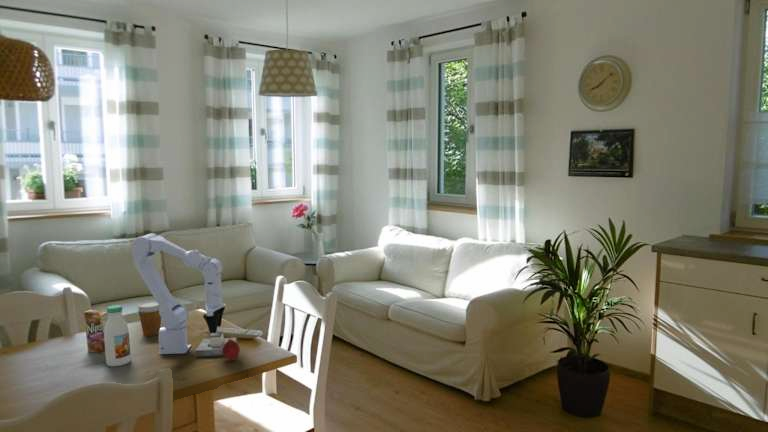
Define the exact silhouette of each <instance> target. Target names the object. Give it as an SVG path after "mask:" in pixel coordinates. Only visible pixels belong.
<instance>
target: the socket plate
mask: <svg viewBox="0 0 768 432" xmlns="http://www.w3.org/2000/svg"><path fill="white" fill-rule="evenodd" d="M229 338H231V339H232V340H233V341H235V342H236V343H237V337H223V339H224V344H223V345H222V346H213V347H210V338H202V341H201V342H200V343H199V344H198V346H197V347H196V349H195V350H194V351H195V352H194V353H195V354H194V355H195V358H207V357H208V358H212V357H213V358H215V357H224V355H223V353H222V349H223V346H224V345H225V343H226V342H228V340H229Z"/></svg>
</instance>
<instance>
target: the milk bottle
mask: <svg viewBox="0 0 768 432" xmlns="http://www.w3.org/2000/svg"><path fill="white" fill-rule="evenodd" d="M106 309H107V310H106V311H107V312H108V313H107V314H108V320H107V323H106V326H105V329H104V340H105V354H104V355H105V362H106V365H107V366H109V367H120V366H124V365H127V364H129V363H130V362H131V359H132V358H131V343H130V332H129V331H130V330H129V327H128V324H127V321H126V320H125V319H124V316H123V306H122V305H120V304H113V305H110V306H107V308H106Z"/></svg>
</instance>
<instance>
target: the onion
mask: <svg viewBox="0 0 768 432" xmlns="http://www.w3.org/2000/svg"><path fill="white" fill-rule="evenodd" d="M228 338H229V340H228V342H226V343H225V345H224V346H223V349H222V353H223V355H224V356H223V357H224V358H226V360H228V361H230V362H231V361H234V360H235V359H236V358H237V357H238V356H239V354H240V353H241V351H240V350H241V348H240V346H239V345H238V343H237V341H236V342H235V341H233V340H232V339H231V338H232V337H228Z"/></svg>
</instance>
